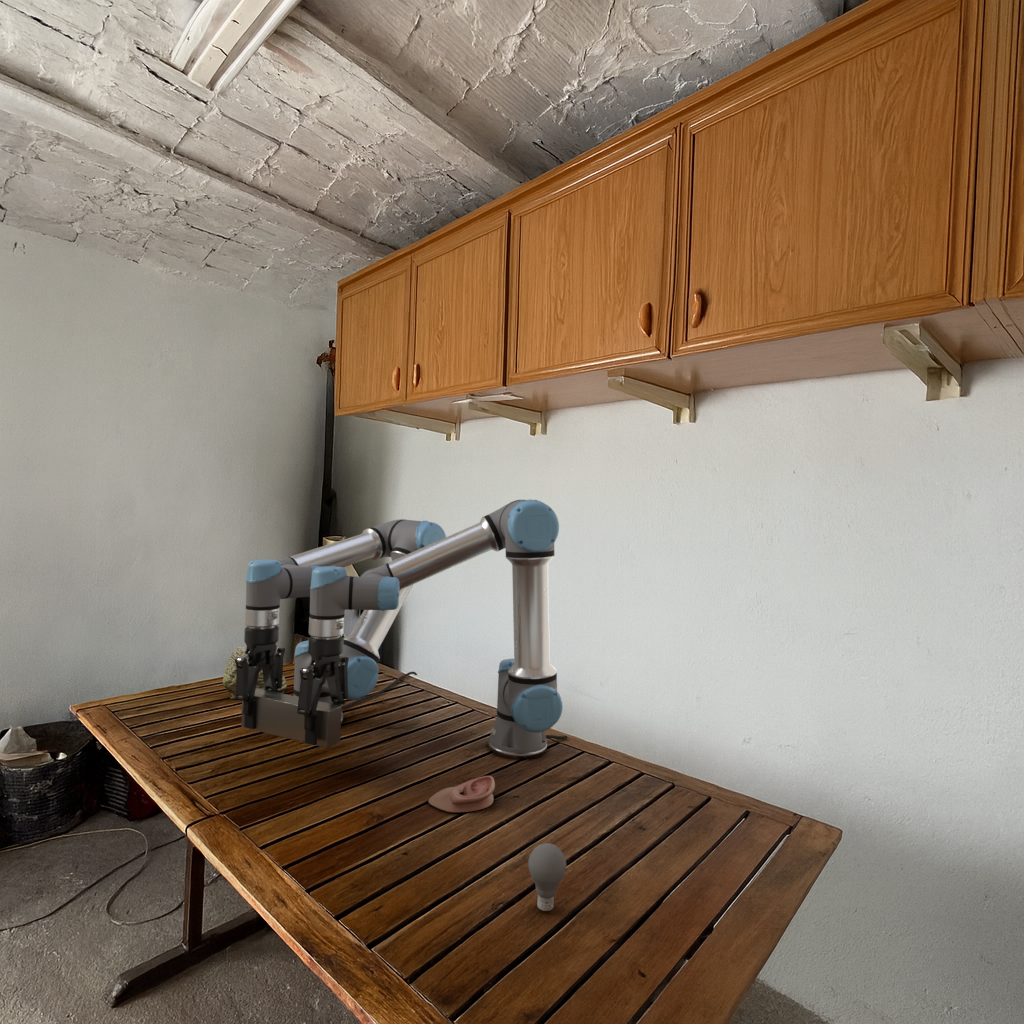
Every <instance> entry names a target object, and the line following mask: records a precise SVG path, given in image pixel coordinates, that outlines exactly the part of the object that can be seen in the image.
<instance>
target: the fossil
mask: <svg viewBox="0 0 1024 1024" xmlns="http://www.w3.org/2000/svg"><path fill="white" fill-rule="evenodd" d="M246 648H247V646H246V647H245V646H238V647H237V648H236V649H235V650H233V651H232V653H231V656H230V657H229V659H228V660H227V663H226V666H225V668H224V671H223V675H222V676H223V677H222V685H223V687H224V688H225V690H226V691H228V693H229V698H230V699H236V673H237V667H236V663H235V658H236V657H242V656H243V655H244V654H245V651H246ZM253 667H255V666H253ZM276 683H277V682H276ZM287 687H288V686H287V680H286V678H285V676H284V675H283V678H282V688H281V689H278V690H279V693H282V694H284V693H285V691H286V689H287ZM256 688H258V689H263V690H265V685H264V678H263V672H262V669H261V671H260V672H259V675H258V680H257V685H256Z"/></svg>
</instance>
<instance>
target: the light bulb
mask: <svg viewBox="0 0 1024 1024" xmlns="http://www.w3.org/2000/svg"><path fill="white" fill-rule="evenodd" d="M527 865H528V872H529V875H530V876H531V879H532V881H533V883H534V884H535V892H536V894H537V903H536V906H537V908H538V909H539V910H540V911H544V912H548V911H549V912H550V911H551V910H554V905H555V901H554V899H555V895H556V893H557V890H558V886H559V885H560V883H561V882H562V880H563V878H564V877H565V875H566V871H567V861H566V857H565V855H564V852H563V851H562V850H561V849H560V848H559V847H558V846H557V845H556V844H553V843H550V842H549V843H548V842H545V843H541V844H538V845H537V846H535V848H533V850H532V851H531V852H530V854H529V857H528V862H527Z"/></svg>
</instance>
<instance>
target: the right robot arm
mask: <svg viewBox="0 0 1024 1024" xmlns="http://www.w3.org/2000/svg"><path fill="white" fill-rule="evenodd" d="M559 533H560V522H559V518H558V516H557V513H556V512H555V511H554V509H552V507H550V506H549V505H548V504H546V503H545V502H543V501H542V500H539V499H538V500H537V499H516V500H513V501H511V502H509V503H507V504H505V505H503V506H502V507H500V508H498V509H496V510H494V511H493V512H490V513H488V514H486V515H484V516H482V517H481V518H480V521H479V522H477V523H476V524H473V525H471V526H469V527H466V528H464V529H462V530H459V531H458V532H457V531H456V532H455V533H453V534H451V535H449V536H446V538H443V539H441V540H439V541H437V542H434V543H432V544H430V545H427V546H425V547H423V548H421V549H418V550H416V551H414V552H411V553H409V554H407V555H405V556H402V557H400V558H398V559H395V560H393V561H392V560H390V561H389V562H387V563H384V564H382V565H379V566H378V567H372V568H369V569H367V570H365V571H364V572H363V573H362V574H361V575H360V576H354V575H353V576H351V575H348V574H347V569H346V567H335V566H322V567H317V568H315V569H314V570H313V571H312V578H311V587H310V597H309V618H308V620H309V621H308V635H309V636H310V637H308V640H309V644H308V653H309V654H310V655H311V662H310V666H308V667H307V668H301V669H300V676H301V682H300V691H299V700H298V708H297V713H298V714H302V715H304V716H305V718H304V729H305V743H304V744H308V745H310V746H316V744H317V728H318V715H317V714H315V713H316V709H317V705H318V701H319V697H320V693H321V690H322V686H323V684H325V682H326V679H327V683H328V688H329V692H330V697H331V701H332V702H333V703H330V704H334V705H339V706H343V705H346V704H347V701H346V699H347V698H348V672H347V666H348V661H349V658H348V657H343V656H340V654H341V653H342V652H343V642H344V637H343V635H344V632H345V611H354V610H355V611H364V610H381V611H385V610H395V609H397V608H398V605H399V591H400V590H402V589H404V588H406V587H409V586H411V585H413V586H414V585H415V584H418V583H420V582H422V581H424V580H427V579H430V578H431V577H433V576H436V575H438V574H440V573H443V572H445V571H448V570H449V569H451V568H455V567H456V566H458V565H461V564H463V563H465V562H467V561H470V560H472V559H474V558H477V557H479V556H480V555H483V554H486V553H487V552H491V551H494V552H500V551H502V550H505V559H507V561H509V562H510V563H511V565H512V566H511V567H512V568H511V569H512V572H511V573H512V574H511V575H512V606H513V607H512V617H513V619H512V620H513V658H506V659H503V660H501V661H500V662H499V665H498V671H497V674H498V675H497V676H498V677H497V679H498V680H497V701H496V703H497V704H496V718H495V721H494V723H493V726H492V729H491V731H490V734H489V736H488V749H489V751H491V752H492V753H494V754H495V755H498V756H500V757H503V758H507V759H508V758H509V759H514V760H515V759H516V760H526V759H527V760H528V759H534V758H538V757H540V756H542V755H544V754H546V753H547V751H548V739H552V740H567V739H568V736H566V735H554V734H546V731H548V730H550V729H552V728H553V727H554V726H555V725H556V723H558V722H559V721H560V719H561V717H562V713H563V700H562V696H561V694H560V693H559V691H558V671H557V668H556V667H555V666H554V665H552V663H551V636H550V635H551V634H550V633H551V632H550V586H549V585H550V583H549V579H550V578H549V576H550V575H549V564H550V562H551V561H552V560H553V559H554V558H555V543H556V541H557V538H558V537H559ZM316 678H318V679H320V680H318V679H316ZM342 692H343V693H342ZM310 708H311V710H310Z"/></svg>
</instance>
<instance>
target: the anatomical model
mask: <svg viewBox="0 0 1024 1024" xmlns="http://www.w3.org/2000/svg"><path fill="white" fill-rule="evenodd" d="M495 788H496V782H495V779H494V777H493V776H491V775H483V776H480V777H476V778H473V779H470V780H467V781H466V782H463V783H461V784H459V785H455V786H451V787H446V788H443V789H440V790H439V791H437V792H436V793H434V794H433V795H432V796H430V798H429V799H428V800H427V801H428V804H429V805H431V806H432V807H434V808H435V809H439V810H441V811H444V812H446V813H468V812H475V811H480V810H482V809H485V808H488V807H490V806H491V805H492V804H493V803H494V800H495V799H494V794H493V792H494V790H495Z"/></svg>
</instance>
